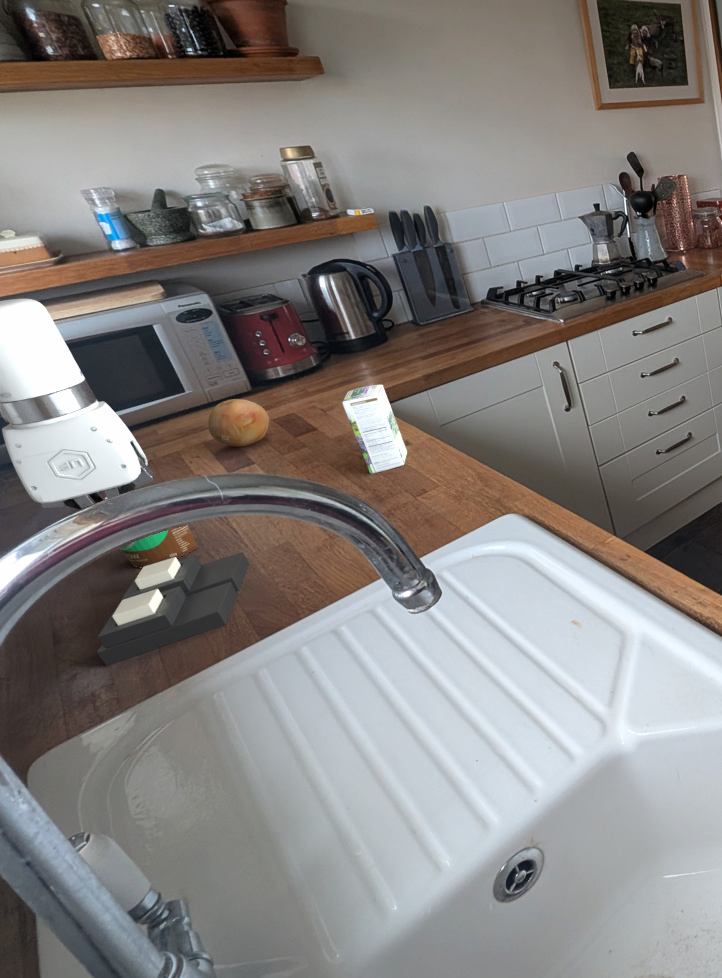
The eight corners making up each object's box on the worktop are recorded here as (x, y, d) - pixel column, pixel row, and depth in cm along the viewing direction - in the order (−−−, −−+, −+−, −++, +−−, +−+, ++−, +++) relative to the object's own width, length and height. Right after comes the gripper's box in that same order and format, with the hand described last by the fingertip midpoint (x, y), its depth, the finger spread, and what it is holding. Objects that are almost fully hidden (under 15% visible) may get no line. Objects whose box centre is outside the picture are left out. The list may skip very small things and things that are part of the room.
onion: (288, 430, 145) (268, 387, 141) (256, 452, 136) (233, 407, 132) (244, 435, 145) (223, 393, 141) (209, 458, 136) (185, 413, 132)
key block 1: (128, 627, 88) (112, 603, 86) (146, 597, 94) (131, 574, 92) (239, 590, 93) (226, 566, 91) (249, 564, 98) (237, 541, 97)
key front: (119, 627, 82) (111, 616, 81) (129, 610, 85) (122, 599, 84) (156, 615, 84) (149, 604, 83) (164, 599, 87) (158, 588, 86)
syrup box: (374, 461, 126) (345, 390, 120) (409, 452, 128) (381, 382, 122) (370, 475, 121) (339, 401, 115) (406, 465, 123) (377, 392, 117)
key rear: (140, 591, 89) (133, 581, 88) (149, 577, 92) (143, 566, 91) (174, 580, 90) (168, 570, 89) (182, 566, 93) (176, 556, 92)
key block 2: (106, 666, 81) (88, 641, 80) (126, 631, 87) (110, 607, 85) (226, 624, 86) (212, 599, 84) (238, 594, 92) (224, 570, 90)
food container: (100, 573, 101) (63, 517, 97) (142, 547, 106) (109, 493, 102) (166, 574, 98) (131, 517, 94) (206, 548, 104) (174, 493, 100)
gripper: (-55, 433, 74) (35, 569, 81) (119, 396, 80) (189, 526, 87) (-19, 411, 80) (62, 539, 87) (140, 378, 86) (203, 501, 94)
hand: (125, 532), depth 87 cm, fingers closed
